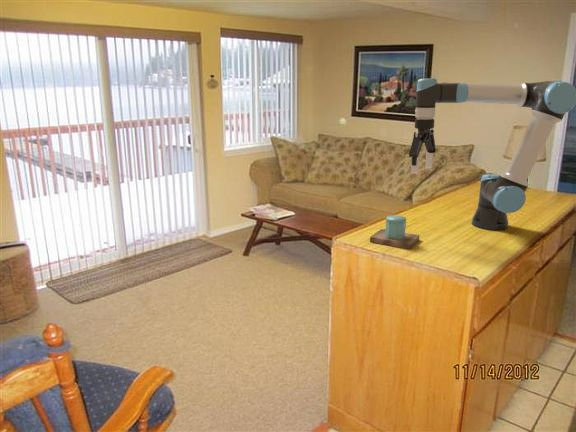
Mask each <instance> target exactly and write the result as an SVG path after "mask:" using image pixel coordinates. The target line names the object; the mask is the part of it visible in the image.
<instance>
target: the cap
mask: <svg viewBox="0 0 576 432" xmlns="http://www.w3.org/2000/svg"><path fill="white" fill-rule="evenodd" d="M385 219H386V220H385V228H384V229H385V236H386V237H388V238H391V239H403V238H404V237H405V233H406V226H407V217H405V216H402V215H396V214H395V215H394V214H393V215H387V216H386V217H385Z"/></svg>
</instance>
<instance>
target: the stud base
mask: <svg viewBox="0 0 576 432" xmlns="http://www.w3.org/2000/svg"><path fill="white" fill-rule="evenodd" d="M418 241H420V234H415V233H409V232H408V233H407V232H405V237H404V238H403V239H391V238H388V237H386V236H385V228H380V229H379V230H377V231H376V232H375V233H374V234H372V235H371V236H370V237H369V242H370V243H375V244H380V245H386V246H391V247H395V248H400V249H401V248H402V249H407V250H410V249H412V247H413V246H415V245H416V244H417V243H418Z"/></svg>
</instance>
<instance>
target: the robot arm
mask: <svg viewBox="0 0 576 432" xmlns="http://www.w3.org/2000/svg"><path fill="white" fill-rule="evenodd" d="M415 91H416V95H415V97H416V98H415V99H416V100H415V109H414V112H415V113H414V114H415V116H414V117H415V119H414V129H417V131H414V132H413V138H412V142H411V146H410V150H409V153H408V157H409V158H411V163H410V164H411V165H410V166H411V167H410V168H411V169H410V174H414V175H415V174H416V175H417V174H419V164H420V163H419V162H420V160H419V159H420V157H419V155H420V152H421V149H422V147H423V144H424V146H425V149H426V152H425V164H424V165H425V166H424V168H425V169H429V170H431V169H433V159H434V158H433V157H434V154H436V150H437V148H436V142H435V133H434V128H435V118H436V104H440V103H441V104H460V103H476V104H478V103H482V104H506V105H517V106H518V108H519V107H520V108H521V107H522V108H530V109H531V110H530V113H531V114H532V118H530V119H531V120H530V121H529V124H528V125H527V127H526V129H525V131H524V133H523V136H522V138H521V140H520V142H519V144H518V146H517V148H516V150H515V152H514V154H513V156H512V158H511V160H510V162H509V164H508V166H507V168H506V170H505V171H504V172H503V173H500V174H493V173H491V174H489V173H488V174H484V175H482V176H481V180H480V188H479V194H478V195H479V196H478V201H477V203H478V204H477V208H476V210H475V212H474V213H473V216H472V218H471V225H473V226H474V227H476V228H479V229H485V230H491V231H502V230H507V229H508V228H509V218H508V214H512V213H516V212H518V211H520V210H521V209H522V208H523V206H524V205H525V203H526V199H527V197H526V191H527V189H528V187H529V183H528V181H527V180H528V178H529V176H530V174H531V172H532V170H533V168H534V167H535V164H536V163H537V161H538V158H539V156H540V155H541V152H542V151H543V149H544V146H545V145H546V142H547V141H548V139H549V137H550V135H551V133H552V131H553V129H554V127H555V125H556V124H558V123H560V122H562V121H563V118H564V117H565V115H566V113H568V112H570V111H571V110H572V109H574V108H575V106H576V88H575V86H574V85H573V84H571V83H570V82H567V81H562V80H553V81H552V80H547V81H537V82H522V83H521V84H519V85H518V84H494V83H493V84H491V83H489V84H488V83H465V82H464V83H463V82H441V83H439V82H438V79H437V78H435V77H434V78H419V79H418V80H417V84H416V90H415Z"/></svg>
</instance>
